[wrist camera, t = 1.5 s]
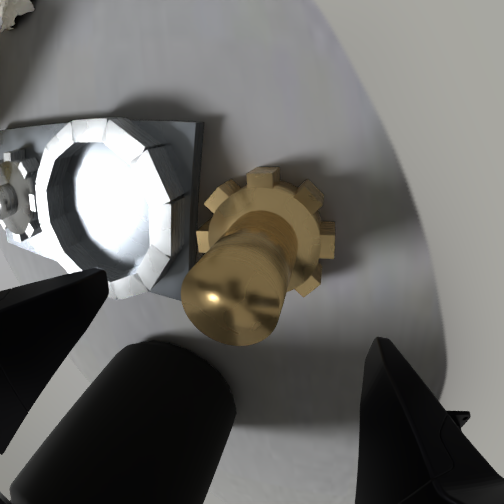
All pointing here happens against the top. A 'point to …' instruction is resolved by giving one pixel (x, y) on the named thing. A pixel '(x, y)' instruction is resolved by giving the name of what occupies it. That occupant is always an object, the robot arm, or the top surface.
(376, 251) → the top surface
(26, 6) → the cream lumpy figure
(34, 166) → the sun gear
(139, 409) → the coffee jar
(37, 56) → the top surface
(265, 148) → the top surface
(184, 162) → the carrier
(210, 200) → the planet gear
